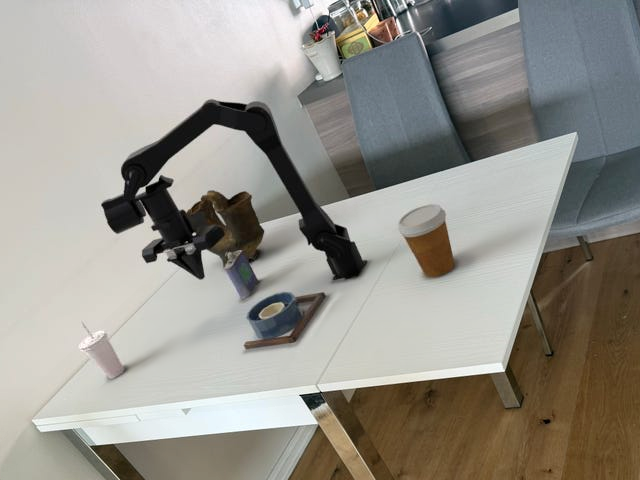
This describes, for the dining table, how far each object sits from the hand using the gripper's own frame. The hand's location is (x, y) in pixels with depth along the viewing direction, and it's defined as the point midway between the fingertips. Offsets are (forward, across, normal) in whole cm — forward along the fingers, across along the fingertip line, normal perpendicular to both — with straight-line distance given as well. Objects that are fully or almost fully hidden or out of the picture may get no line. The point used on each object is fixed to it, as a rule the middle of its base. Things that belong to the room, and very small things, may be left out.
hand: (202, 278), depth 147 cm
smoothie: (+12, +24, +14) cm, 30 cm away
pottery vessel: (+12, +15, -33) cm, 38 cm away
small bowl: (+12, -16, +4) cm, 20 cm away
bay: (+12, -18, +4) cm, 22 cm away
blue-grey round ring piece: (+12, -16, +4) cm, 21 cm away
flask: (+12, +2, -14) cm, 19 cm away
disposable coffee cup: (+12, -49, -8) cm, 51 cm away
